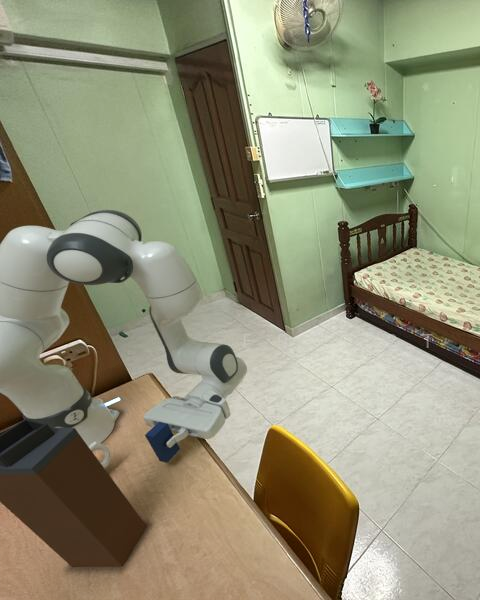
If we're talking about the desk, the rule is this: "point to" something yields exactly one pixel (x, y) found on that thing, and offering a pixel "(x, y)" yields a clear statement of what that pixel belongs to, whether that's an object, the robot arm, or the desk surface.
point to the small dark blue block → (157, 439)
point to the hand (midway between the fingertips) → (159, 444)
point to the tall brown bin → (66, 495)
